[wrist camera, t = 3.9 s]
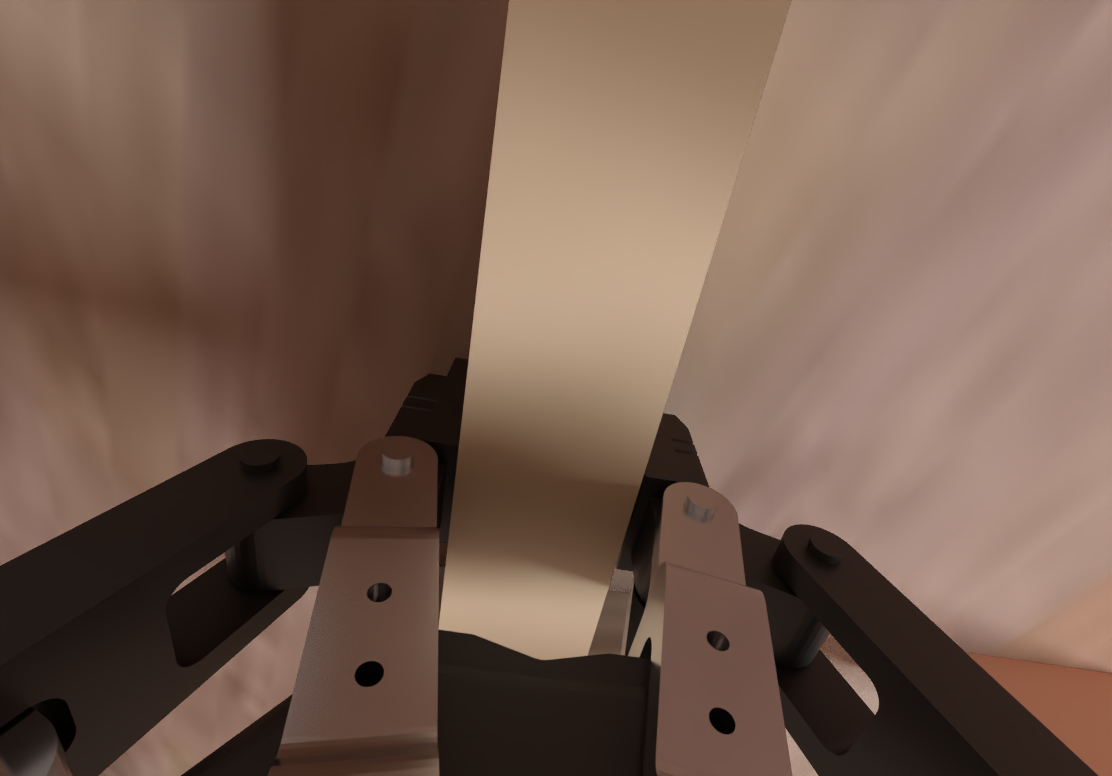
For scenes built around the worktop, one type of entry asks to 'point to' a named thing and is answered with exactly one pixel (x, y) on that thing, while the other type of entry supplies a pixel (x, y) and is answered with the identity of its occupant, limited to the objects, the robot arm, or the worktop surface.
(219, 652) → the robot arm
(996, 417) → the worktop surface
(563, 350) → the beige rectangular block
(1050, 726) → the tile
